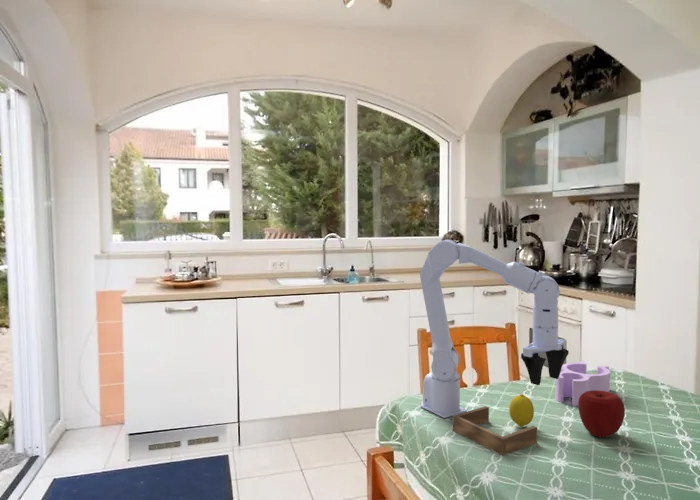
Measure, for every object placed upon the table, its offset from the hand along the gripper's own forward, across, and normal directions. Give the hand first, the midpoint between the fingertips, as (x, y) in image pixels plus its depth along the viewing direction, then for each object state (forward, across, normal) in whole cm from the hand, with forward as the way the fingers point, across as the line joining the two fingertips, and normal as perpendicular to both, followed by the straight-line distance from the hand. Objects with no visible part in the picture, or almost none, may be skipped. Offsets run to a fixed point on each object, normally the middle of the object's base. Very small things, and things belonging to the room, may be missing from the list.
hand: (544, 380), depth 125 cm
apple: (+10, +4, -12) cm, 16 cm away
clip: (+10, +24, +5) cm, 27 cm away
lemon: (+10, -8, +1) cm, 13 cm away
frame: (+10, -17, +1) cm, 20 cm away
